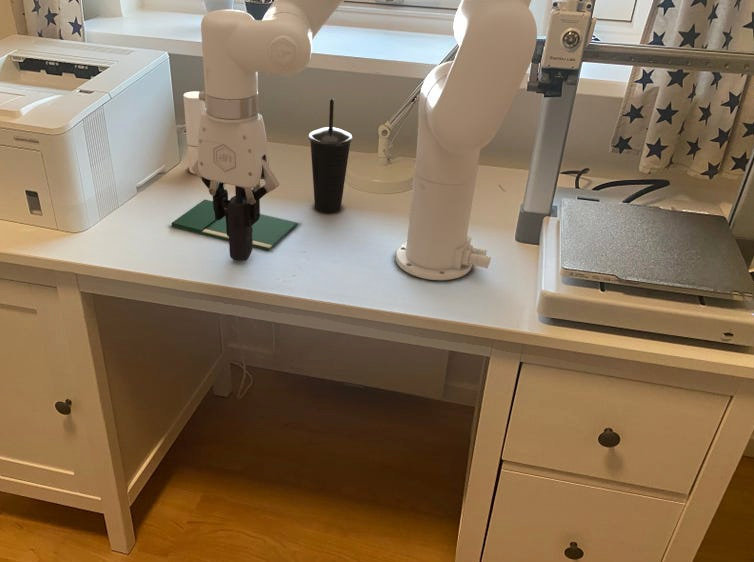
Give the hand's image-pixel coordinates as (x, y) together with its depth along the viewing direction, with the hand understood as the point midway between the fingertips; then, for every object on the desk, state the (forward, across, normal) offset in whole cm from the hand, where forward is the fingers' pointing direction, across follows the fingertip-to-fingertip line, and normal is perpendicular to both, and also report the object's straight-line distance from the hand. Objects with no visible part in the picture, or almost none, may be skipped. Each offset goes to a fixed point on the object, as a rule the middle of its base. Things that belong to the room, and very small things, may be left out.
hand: (236, 219), depth 120 cm
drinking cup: (+7, +5, +24) cm, 26 cm away
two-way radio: (+7, 0, 0) cm, 7 cm away
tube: (+7, -25, +29) cm, 38 cm away
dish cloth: (+7, -6, +10) cm, 14 cm away
